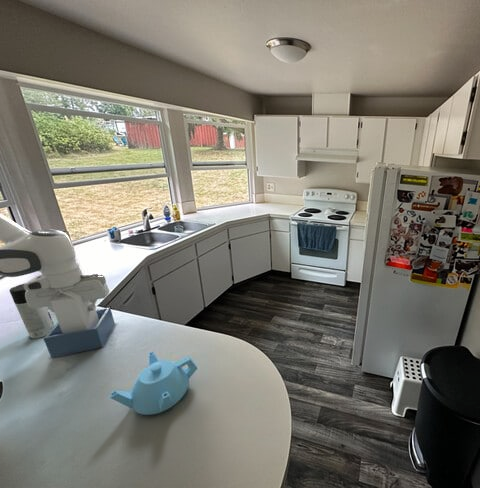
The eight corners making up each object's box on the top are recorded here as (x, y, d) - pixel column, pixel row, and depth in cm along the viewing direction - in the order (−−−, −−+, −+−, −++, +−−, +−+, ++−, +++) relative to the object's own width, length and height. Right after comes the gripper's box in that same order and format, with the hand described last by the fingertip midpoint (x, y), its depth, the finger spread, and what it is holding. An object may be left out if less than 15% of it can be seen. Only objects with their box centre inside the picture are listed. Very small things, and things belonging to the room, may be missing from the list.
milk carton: (64, 338, 86) (45, 290, 80) (77, 325, 93) (60, 280, 86) (89, 335, 88) (72, 288, 82) (100, 323, 94) (85, 278, 88)
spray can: (60, 329, 96) (42, 283, 90) (37, 340, 90) (16, 292, 84) (48, 325, 98) (29, 280, 91) (24, 337, 92) (3, 289, 85)
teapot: (170, 425, 64) (163, 394, 61) (114, 420, 65) (104, 389, 61) (201, 376, 79) (197, 348, 75) (155, 372, 79) (149, 345, 76)
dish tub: (51, 358, 83) (43, 338, 80) (70, 332, 95) (64, 314, 92) (102, 347, 88) (96, 328, 86) (115, 324, 100) (110, 307, 97)
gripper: (106, 269, 90) (116, 302, 94) (28, 277, 82) (43, 313, 87) (99, 276, 84) (110, 311, 89) (15, 286, 76) (32, 324, 81)
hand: (76, 312), depth 88 cm, fingers closed on milk carton, 7 cm apart
